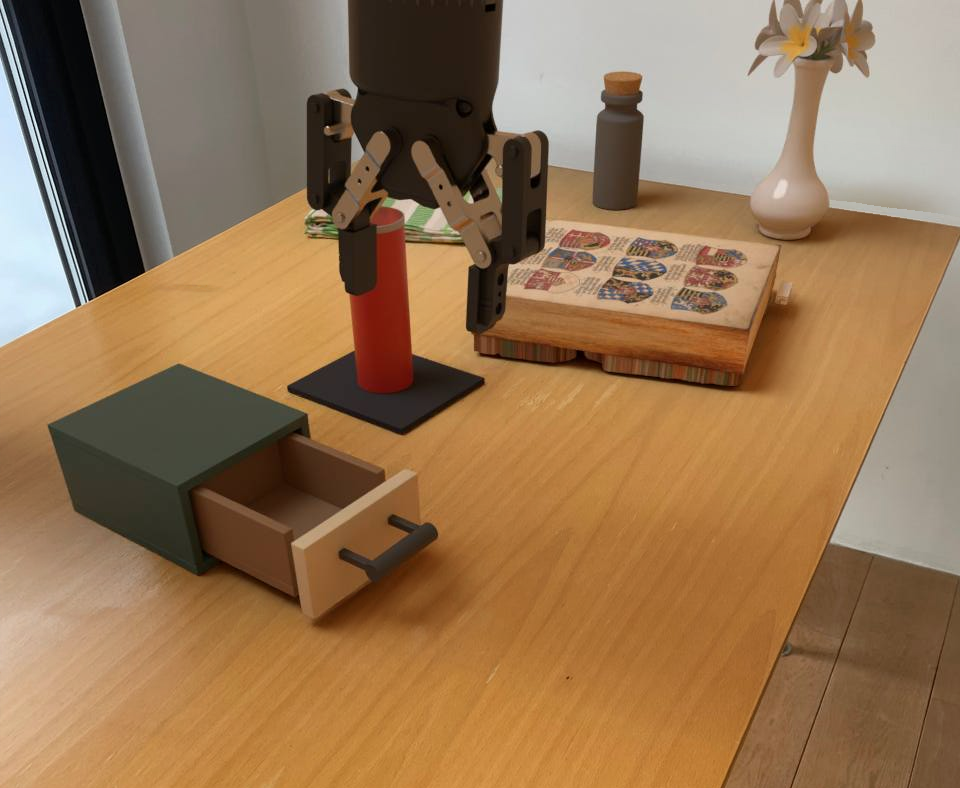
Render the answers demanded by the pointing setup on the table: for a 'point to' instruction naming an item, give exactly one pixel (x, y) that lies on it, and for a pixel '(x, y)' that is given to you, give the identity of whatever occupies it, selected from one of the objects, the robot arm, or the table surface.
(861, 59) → the flower vase
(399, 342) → the tin
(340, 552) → the drawer
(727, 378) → the wooden box
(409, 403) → the mat
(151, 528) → the cabinet
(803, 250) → the table surface
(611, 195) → the bottle
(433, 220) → the dish towel
